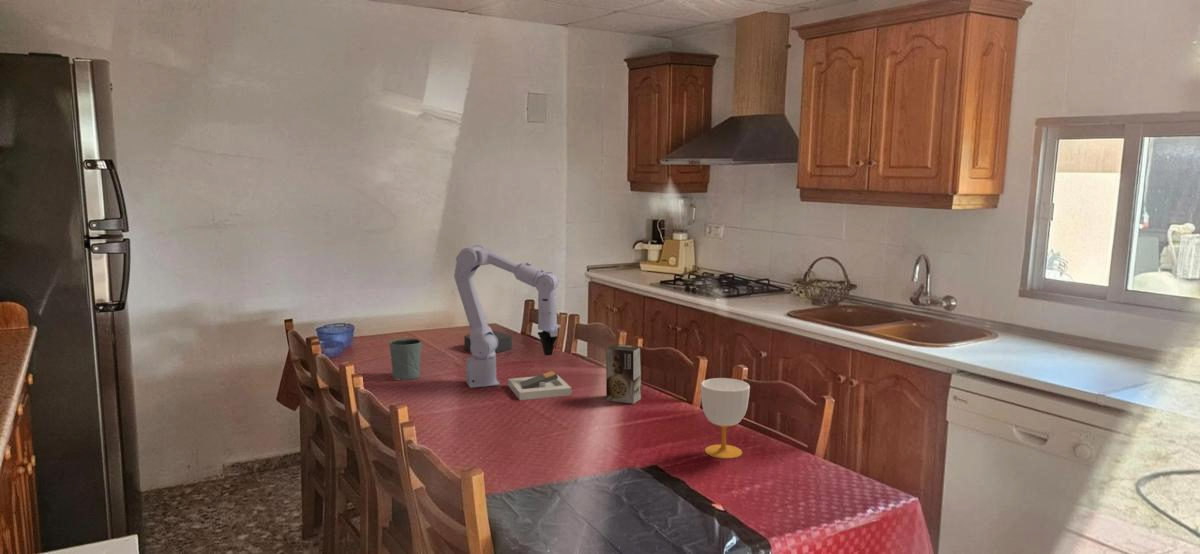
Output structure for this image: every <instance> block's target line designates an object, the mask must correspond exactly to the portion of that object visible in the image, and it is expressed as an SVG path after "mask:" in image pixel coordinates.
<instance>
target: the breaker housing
mask: <svg viewBox="0 0 1200 554" xmlns="http://www.w3.org/2000/svg"><path fill="white" fill-rule="evenodd" d="M536 376H537V375H536ZM536 376H526V377H525V376H523V377H515V378H508V381H507V384H508V386H507V387H509V389H510V390H511V391H512V392H513V393H514V395H515V396H516V398H518V399H519V401H526V400H537V399H538V400H539V399H547V398H548V399H549V398H557V397H567V396H568V397H569V396H572V393H573V390H572V388H573V387H571V386H570V385H569V384H568V383H567V382H566V381H565V380H564V379H562V378H561V377H560V376H559V374H557V376H558V378H557V379H554V380H552V381H549V382H546V383H545V382H539V385H538V386H535V387H532V388H529V389H523V388H522V387H521V385H520V382H522V381H525V380H528V379H531V378H533V377H536Z"/></svg>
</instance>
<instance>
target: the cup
mask: <svg viewBox="0 0 1200 554" xmlns="http://www.w3.org/2000/svg"><path fill="white" fill-rule="evenodd" d="M750 390H751V386H750V384H749V383H748V382H746V381H744V380H741V379H735V378H731V377H730V378H727V377H717V378H716V377H715V378H714V377H713V378H708V379H705V380H702V382H701V383H700V396H701V406H702V410H703V413H704V415H705V418H706V419H707V420H708V422H710V423H712V424H713V425H714V426H715V425H716V426H718V427H720V428H721V444H712V445H709V446H707V447H705V449H704V453H705V454H706V455H708V456H709V455H710V456H709V457H712V458H716V459H721V460H727V459H728V460H730V459H735V458H739V457H741V456H742V454H743V450H742V449H741V448H739V447H737V446H733V445H729V444H727V429H728V428H730V427H732V426H735V425H738V424H739V423H740V422H741V421H742V420H743V418H744V417H745V416H746V412H747V411H748V406H749V400H750V399H749V398H750Z"/></svg>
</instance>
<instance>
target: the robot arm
mask: <svg viewBox="0 0 1200 554" xmlns="http://www.w3.org/2000/svg"><path fill="white" fill-rule="evenodd" d="M455 261H456V263H455V268H454V274H453V276H454V280H455V284H456V287H457V290H458V294H459V297H460V300H461V304H462V306H463V310H464V312H465V316H466V319H467V321H468V325H469V328H470V333H469V335H470V341H471V345H470V350H471V351H470V353H471V355H472V356H471V357H467V358H466V360H465V372H466V373H465V374H466V375H465V376H466V377H465V378H466V381H465V382H466V384H467V385H468V387H469V388H470V389H473V388H482V387H483V388H484V387H494V386H495V387H496V386H500V385H501V383H500V382H499V380H498V379H497V353H495V350H496V348H497V347H498V339H497V337H496V336H495V335H494V334H493V332H492V331H493V329H492V327H491V326H489V324H488V323H487V321H486V317H485V314H484V311H483V307H482V304H481V301H480V298H479V295H478V292H477V289H476V285H475V281H474V279H473V276H474V275H475V273H476V272H477V270H478V269H479V268H480V267H481V266H487V265H491V266H495V267H497V268H500V269H501V270H505V271H507V272H509V273H511V274H513V276H514V277H515V279H516V280H518V281H520V282H522V283H524V284H525V285H526V284H527V285H528V286H531V287H533V288H535V290H537V295H538V298H537V306H538V308H537V310H538V311H537V312H538V316H537V317H538V318H537V319H538V325H537V330H539V332H537V335H538V337H539V339H540V342H541V345H542V351H543V354H544V356H552V355H553V350H554V346H555V344H556V343H555V342H556V340H557V339H558V337H559V333H558V329H560V328H561V324H558V318H557V317H558V315H557V314H558V313H557V311H558V309H557V307H558V306H557V305H558V304H557V302H558V301H557V298H558V296H557V289H556V288H558V285H559V278H558V277H557V275H556V274H554V273H553V272H552V271H546V270H545V269H540V268H538V267H536V266H533V265H532V263H531V262H529V261H528V262H521V263H517V262H516V261H514V260H511V259H510V258H507V257H506V256H504V255H502V254H500V253H497V252H496V251H494V250H492V249H490V248H488V247H484V246H482V245H481V244H480V245H479V244H477V245H473V246H471V247H465V248H462V249H461V250H460V251H459V253H458V255H457V256H456V257H455Z"/></svg>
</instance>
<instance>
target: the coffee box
mask: <svg viewBox="0 0 1200 554" xmlns="http://www.w3.org/2000/svg"><path fill="white" fill-rule="evenodd" d="M605 359H606V360H605V361H606V363H605V364H606V365H605V366H606V367H605V372H606V373H605V375H606V376H605V377H606V379H605V381H606V385H605V387H606V390H605V393H606V396H605V397H606V399H605V400H606V401H609V402H617V403H624V404H631V405H632V404H633V405H634V404H636V403H637V402H638V401H640V400H641V399H642V346H640V345H639V346H638V345H632V344H631V345H629V344H619V343H613V344H611V345H610V346H608V347H606V348H605Z"/></svg>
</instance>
